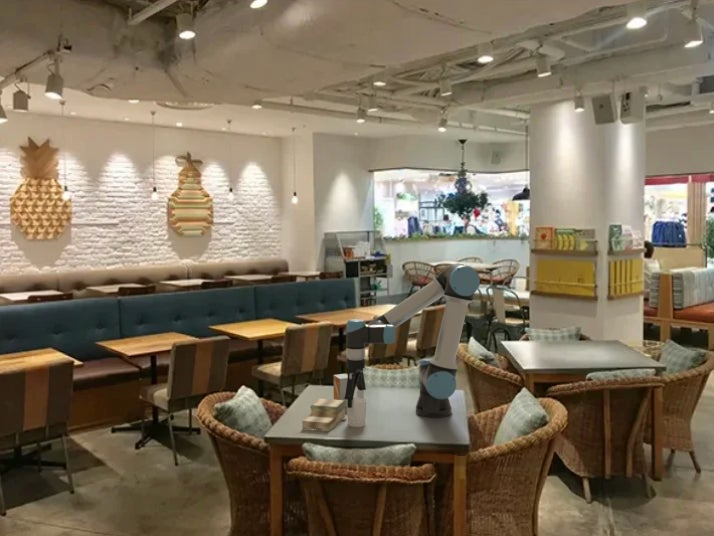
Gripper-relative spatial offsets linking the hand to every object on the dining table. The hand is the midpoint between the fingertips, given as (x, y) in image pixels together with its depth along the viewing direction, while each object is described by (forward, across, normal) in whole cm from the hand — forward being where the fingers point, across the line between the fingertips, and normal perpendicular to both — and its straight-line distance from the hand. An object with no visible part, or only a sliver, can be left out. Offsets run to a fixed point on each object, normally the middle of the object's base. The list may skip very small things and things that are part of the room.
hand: (355, 410), depth 261 cm
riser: (+6, +1, -13) cm, 14 cm away
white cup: (+6, 0, 0) cm, 6 cm away
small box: (+6, -26, -14) cm, 30 cm away
